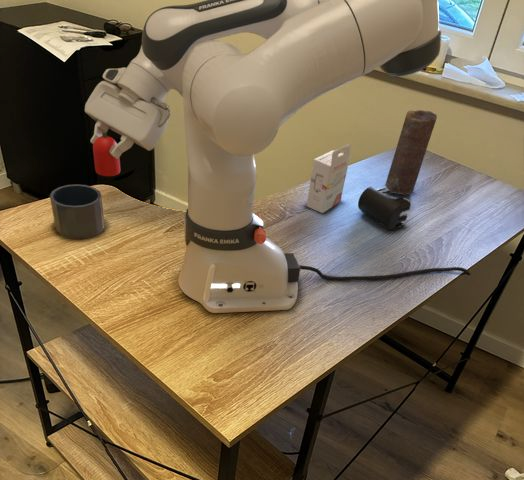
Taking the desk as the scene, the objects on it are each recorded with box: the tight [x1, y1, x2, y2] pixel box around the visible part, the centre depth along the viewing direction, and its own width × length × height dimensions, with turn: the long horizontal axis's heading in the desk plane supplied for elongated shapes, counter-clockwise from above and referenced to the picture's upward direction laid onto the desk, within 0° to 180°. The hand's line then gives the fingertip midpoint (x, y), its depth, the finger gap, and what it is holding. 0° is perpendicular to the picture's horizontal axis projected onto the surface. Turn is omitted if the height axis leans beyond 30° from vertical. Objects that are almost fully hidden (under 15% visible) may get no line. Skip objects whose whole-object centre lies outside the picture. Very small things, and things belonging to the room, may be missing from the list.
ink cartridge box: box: [306, 143, 352, 214], centre depth 124 cm, size 9×5×15 cm, turn 143°
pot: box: [49, 183, 105, 240], centre depth 107 cm, size 10×10×7 cm
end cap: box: [357, 186, 412, 231], centre depth 123 cm, size 10×7×7 cm
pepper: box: [92, 131, 121, 177], centre depth 107 cm, size 5×5×8 cm
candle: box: [384, 109, 438, 196], centre depth 132 cm, size 8×7×20 cm
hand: (103, 150), depth 106 cm, fingers closed on pepper, 5 cm apart
